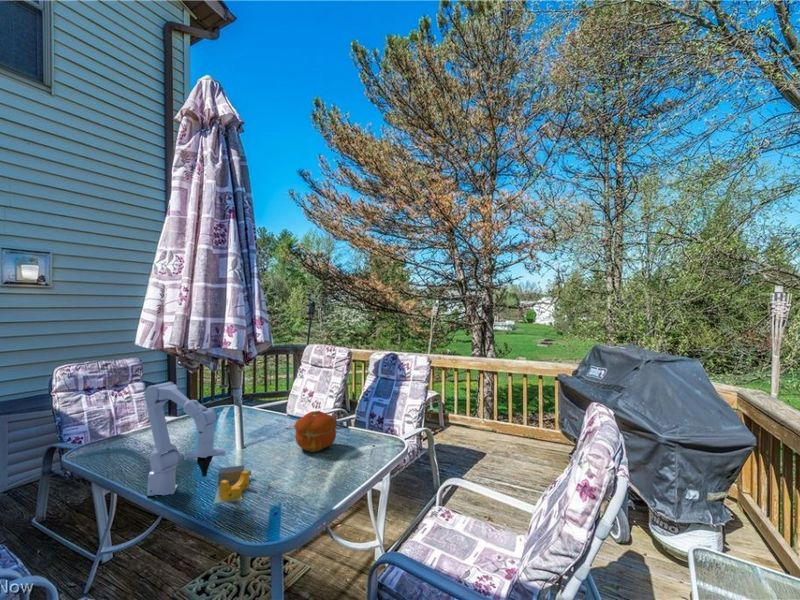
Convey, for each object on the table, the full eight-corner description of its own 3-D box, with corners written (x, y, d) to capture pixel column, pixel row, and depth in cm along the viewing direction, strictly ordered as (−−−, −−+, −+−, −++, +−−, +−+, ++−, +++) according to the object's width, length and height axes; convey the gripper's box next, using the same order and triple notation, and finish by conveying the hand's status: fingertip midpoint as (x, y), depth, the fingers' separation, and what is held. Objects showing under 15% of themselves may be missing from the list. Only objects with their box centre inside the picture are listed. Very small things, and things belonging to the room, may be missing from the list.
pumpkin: (286, 447, 208) (287, 410, 209) (322, 438, 223) (323, 404, 224) (306, 460, 191) (307, 420, 191) (344, 449, 206) (345, 412, 206)
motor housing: (213, 503, 148) (214, 490, 148) (219, 479, 168) (219, 468, 168) (249, 498, 152) (250, 486, 152) (251, 475, 173) (251, 464, 173)
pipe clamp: (227, 500, 150) (227, 484, 150) (219, 497, 152) (220, 481, 152) (251, 488, 161) (252, 472, 161) (244, 485, 163) (245, 470, 163)
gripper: (182, 446, 145) (181, 482, 145) (224, 442, 150) (223, 477, 150) (186, 440, 152) (185, 474, 151) (226, 436, 157) (225, 469, 156)
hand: (204, 475), depth 151 cm, fingers closed
